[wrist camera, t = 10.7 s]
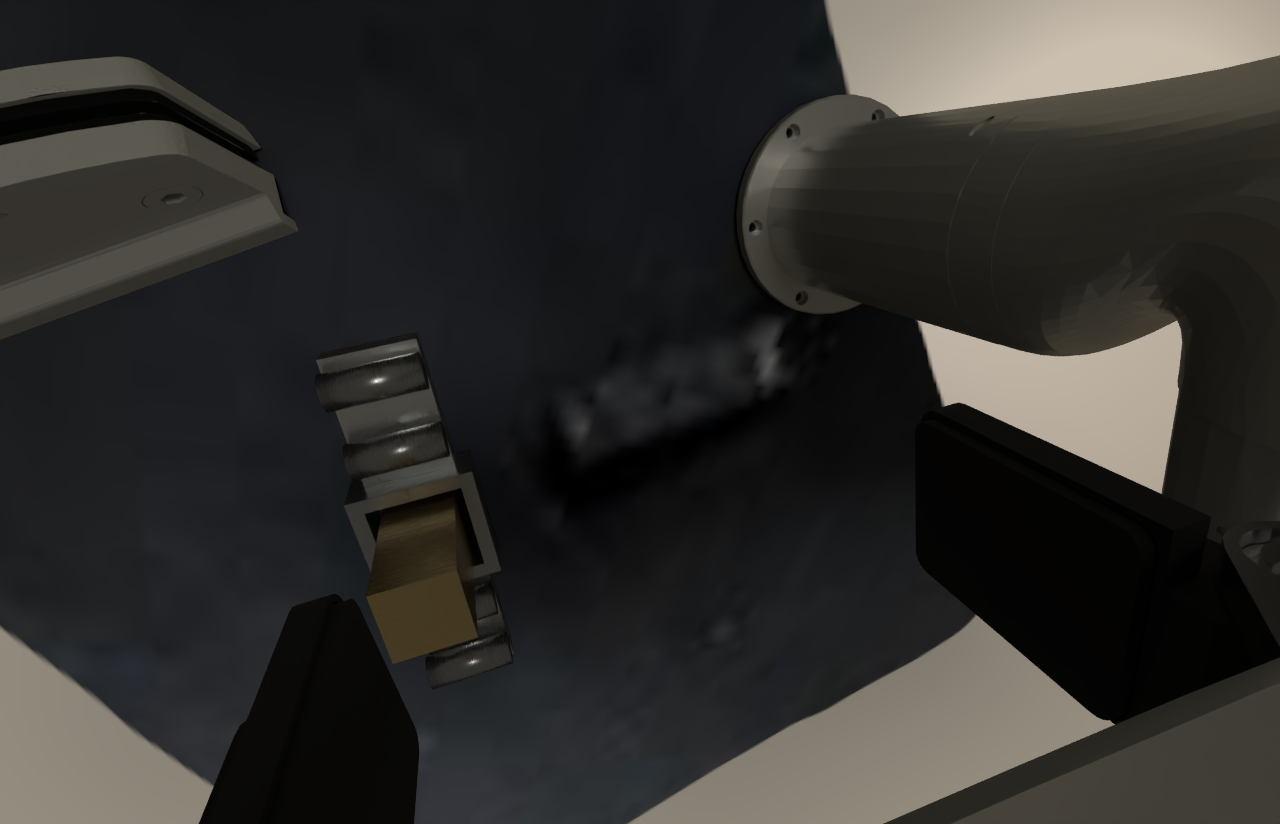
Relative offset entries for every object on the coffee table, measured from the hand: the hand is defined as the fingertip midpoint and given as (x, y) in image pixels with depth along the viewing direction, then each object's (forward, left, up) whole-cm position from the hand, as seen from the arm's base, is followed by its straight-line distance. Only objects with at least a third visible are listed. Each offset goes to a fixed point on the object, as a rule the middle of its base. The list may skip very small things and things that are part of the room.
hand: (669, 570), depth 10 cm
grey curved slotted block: (+18, -7, -28) cm, 34 cm away
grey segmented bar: (+8, +12, -28) cm, 31 cm away
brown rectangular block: (+8, +12, -28) cm, 31 cm away
